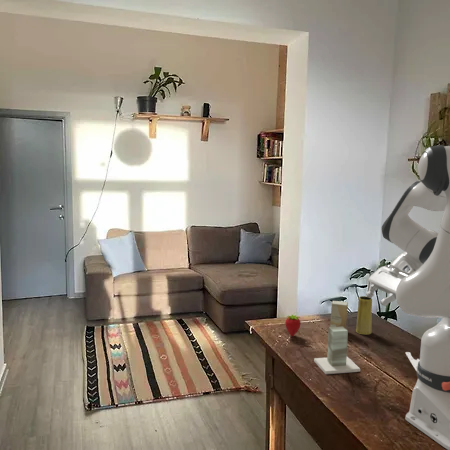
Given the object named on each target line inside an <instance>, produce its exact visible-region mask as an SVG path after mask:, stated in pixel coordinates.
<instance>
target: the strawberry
mask: <svg viewBox="0 0 450 450" xmlns="http://www.w3.org/2000/svg"><path fill="white" fill-rule="evenodd" d="M301 325H302V324H301V317H299V316H297V315H295V313H293V314H291V315H288V316H287V317H286V319H285V328H286V330H287V332H288V333H289V335H290V337H292V338H293V337H294V336H296V334H297V332H299V330H300V327H301Z"/></svg>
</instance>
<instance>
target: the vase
mask: <svg viewBox="0 0 450 450" xmlns="http://www.w3.org/2000/svg"><path fill="white" fill-rule="evenodd" d="M357 299H358V301H357V317H356V326H355V332H356V333H357V334H359V335H363V336H364V335H365V336H366V335H367V336H368V335H371V334H372V333H373V332H372V321H373V320H372V318H373V317H372V316H373V315H372V314H373V313H372V311H373V309H372V308H373V297H372V298H369V297H367V295H365V296H364V295H363V296H362V295H361V296H359V297H358V298H357Z"/></svg>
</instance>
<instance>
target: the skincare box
mask: <svg viewBox="0 0 450 450" xmlns="http://www.w3.org/2000/svg"><path fill="white" fill-rule="evenodd" d="M348 305H349V301H348V302H347V301H341V300H340V301H338V300H332V302H331V308H330V309H331V310H330V323H329V324H330V325H329V327H342V326H343V327H344V328H345V329H346V330H347V323H348V321H347V319H348V308H349V307H348Z"/></svg>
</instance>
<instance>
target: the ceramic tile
mask: <svg viewBox="0 0 450 450" xmlns="http://www.w3.org/2000/svg"><path fill="white" fill-rule="evenodd" d="M313 359H314V360H313V362H314V363H315V364H316V365H317V366H318V368H319V369H320V370H321V371H322V372H323V373H324V374H325V375H333V374H334V375H335V374H347V373H357V372H361V368H360V367H359V366H358V365H357V364H356V363H355V362H354V361H353V360H352V359H351V358H350V357H348V356H347V359H346V366H331V365H330V364H329V363H328V362H327V357H315V358H313Z"/></svg>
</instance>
